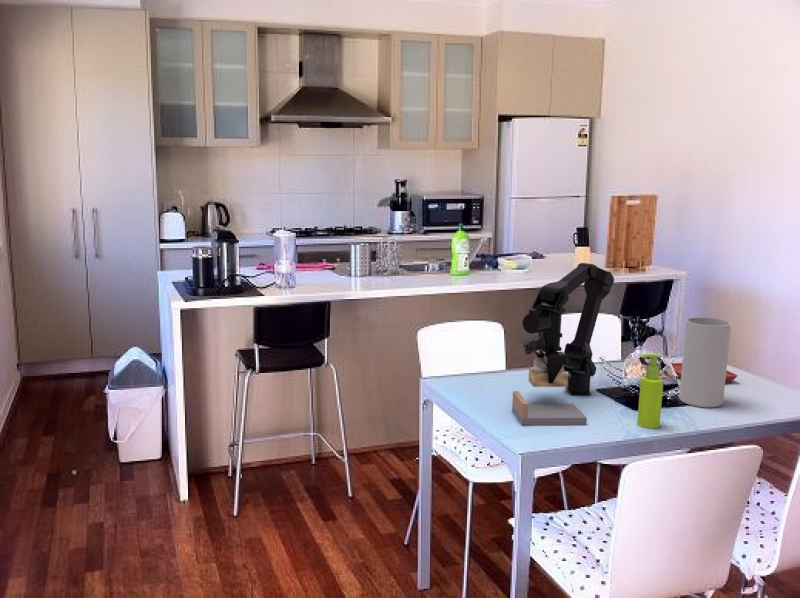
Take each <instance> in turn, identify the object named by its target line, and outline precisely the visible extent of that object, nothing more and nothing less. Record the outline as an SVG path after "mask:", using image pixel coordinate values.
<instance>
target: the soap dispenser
mask: <svg viewBox="0 0 800 600" xmlns="http://www.w3.org/2000/svg"><path fill="white" fill-rule="evenodd" d="M638 356H639V357H640V358H642V359H644V358H645V359H646V358H650V362H649V364H648V365H646V369H645V370H646V371H645V372H646V373H645V376H641V377H640V385H639V386H640V387H639V398H638V409H637V425H638V426H639V427H641V428H642V427H643V428H646V429H657V428H659V427H660V426H661V414H662V405H663V404H662V401H663V391H664V379H663V378H661V377H660V368H661V367H660V366H659V365H658V359H659V358H661V355H660V354H658V353H647V352H646V353H642V354H638Z"/></svg>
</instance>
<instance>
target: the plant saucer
mask: <svg viewBox="0 0 800 600" xmlns="http://www.w3.org/2000/svg"><path fill="white" fill-rule="evenodd" d="M671 364H672V366H673V368H674V369H675V370H674V371H675V372H676V374H677V375H678V377H679V378H678V377H677V378H678V379H680V380H681V371H682V362H671ZM736 378H738V374H736V373H734V372H731V371H729V370H728V369H727V370H726V380H725V384H729V383H731V382H732V381H733V380H735V379H736Z"/></svg>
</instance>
